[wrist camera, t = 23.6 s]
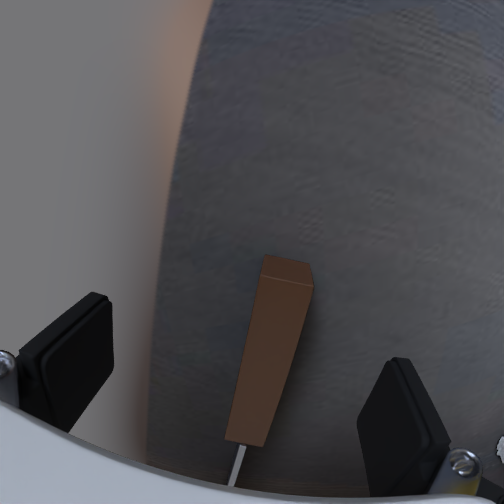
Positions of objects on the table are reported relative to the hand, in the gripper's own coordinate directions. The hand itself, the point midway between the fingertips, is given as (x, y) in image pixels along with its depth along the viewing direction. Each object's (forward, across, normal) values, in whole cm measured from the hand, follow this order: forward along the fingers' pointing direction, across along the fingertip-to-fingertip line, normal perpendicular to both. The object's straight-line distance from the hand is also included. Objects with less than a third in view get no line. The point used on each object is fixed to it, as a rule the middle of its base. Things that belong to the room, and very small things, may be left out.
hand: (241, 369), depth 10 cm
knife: (+6, -1, +8) cm, 10 cm away
